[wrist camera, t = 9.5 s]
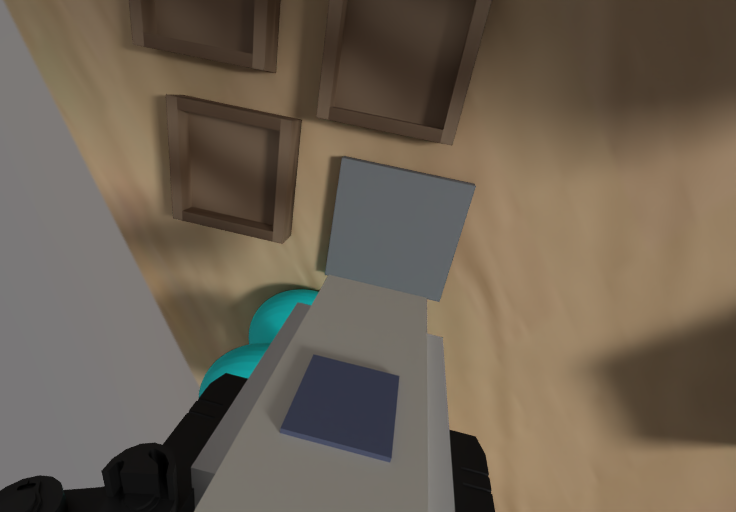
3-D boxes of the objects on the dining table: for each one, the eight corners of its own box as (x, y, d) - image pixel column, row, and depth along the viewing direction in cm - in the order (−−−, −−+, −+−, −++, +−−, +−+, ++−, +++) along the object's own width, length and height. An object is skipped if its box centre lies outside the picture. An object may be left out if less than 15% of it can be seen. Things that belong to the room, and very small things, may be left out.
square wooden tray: (183, 95, 24) (165, 94, 22) (301, 119, 24) (292, 121, 22) (188, 211, 28) (173, 218, 26) (290, 235, 27) (282, 243, 25)
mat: (344, 156, 24) (341, 157, 23) (474, 183, 23) (475, 186, 23) (327, 270, 28) (324, 274, 27) (438, 296, 27) (439, 301, 26)
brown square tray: (343, -44, 20) (335, -57, 18) (493, -18, 19) (499, -29, 17) (324, 116, 23) (316, 117, 22) (450, 142, 23) (452, 145, 21)
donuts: (166, 365, 21) (328, 365, 19) (245, 285, 30) (360, 280, 28) (215, 479, 24) (354, 489, 22) (272, 377, 33) (375, 378, 32)
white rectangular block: (329, 271, 14) (192, 507, 6) (428, 294, 14) (430, 575, 6) (316, 352, 16) (198, 621, 8) (404, 374, 15) (380, 677, 7)
